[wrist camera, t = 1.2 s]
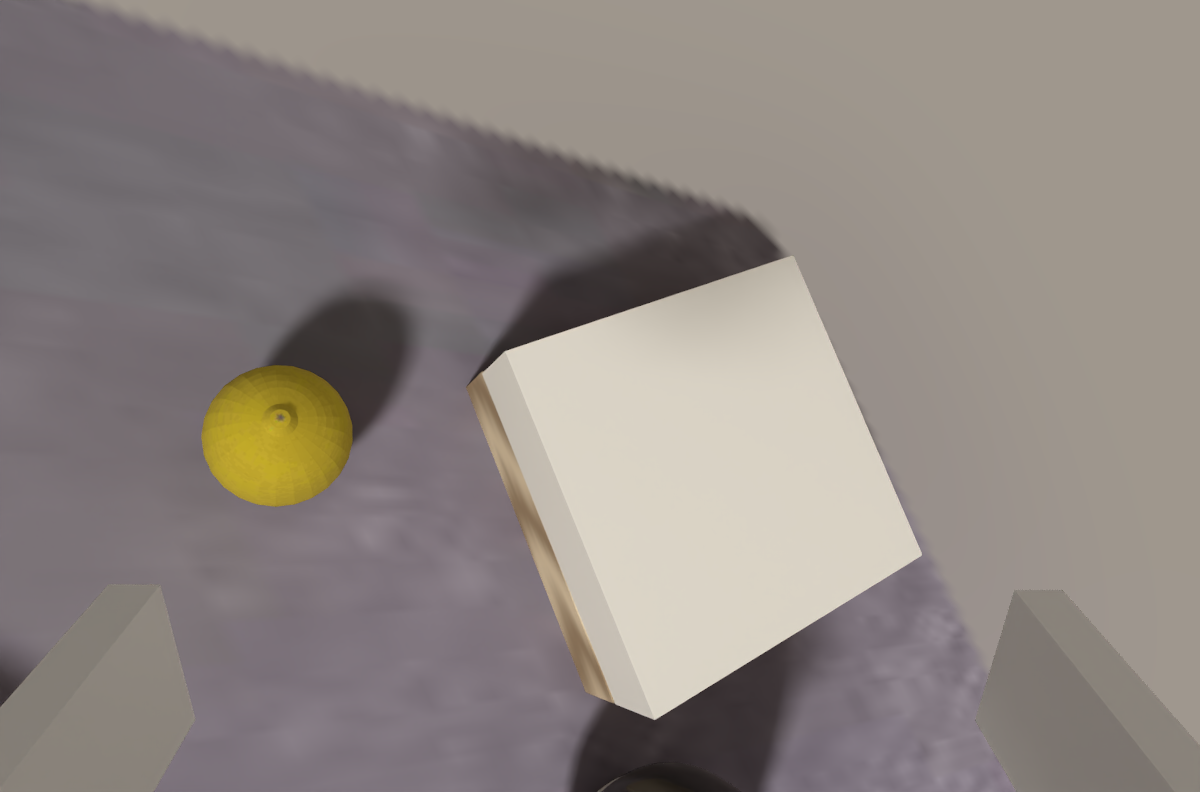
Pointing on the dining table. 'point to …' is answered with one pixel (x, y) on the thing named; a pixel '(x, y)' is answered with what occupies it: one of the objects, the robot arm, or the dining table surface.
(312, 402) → the lemon
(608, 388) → the tower top
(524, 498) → the tower base
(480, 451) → the dining table surface
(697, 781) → the pump dispenser
